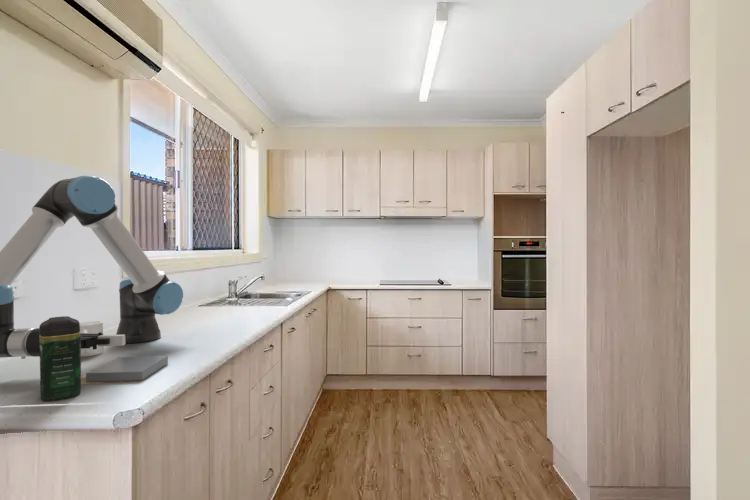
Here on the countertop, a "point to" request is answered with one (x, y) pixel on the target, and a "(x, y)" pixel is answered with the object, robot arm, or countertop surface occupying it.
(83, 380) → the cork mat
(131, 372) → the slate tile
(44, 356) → the coffee jar
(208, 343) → the countertop surface
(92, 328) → the mug
